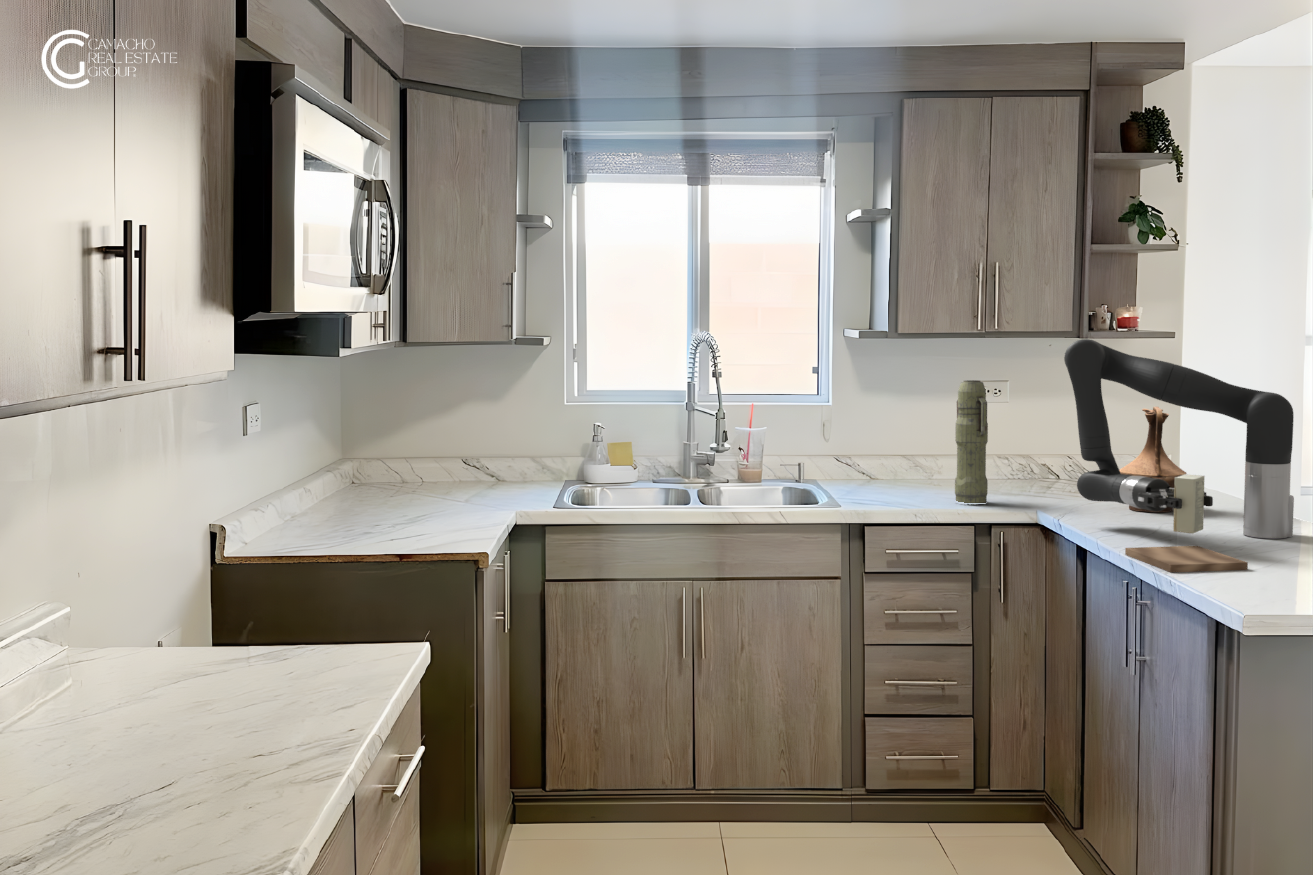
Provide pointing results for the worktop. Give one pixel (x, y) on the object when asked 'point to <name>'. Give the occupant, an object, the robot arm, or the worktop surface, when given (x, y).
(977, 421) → the thermos
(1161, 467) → the pitcher
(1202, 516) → the skincare box
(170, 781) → the worktop surface
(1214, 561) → the walnut board
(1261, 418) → the robot arm
